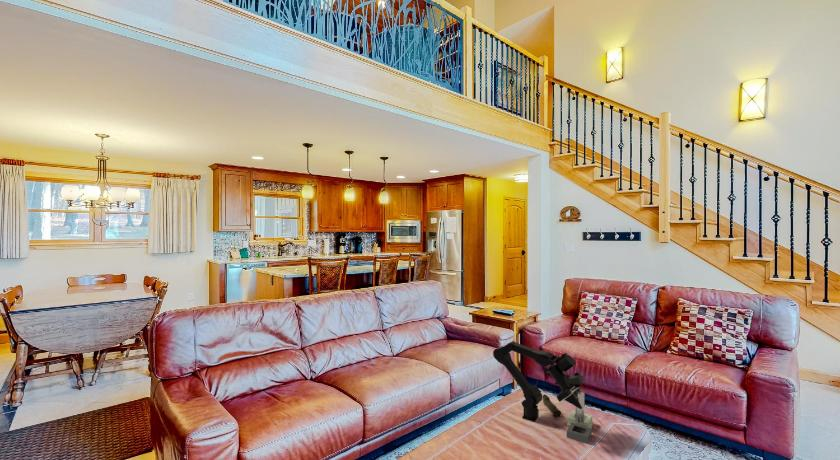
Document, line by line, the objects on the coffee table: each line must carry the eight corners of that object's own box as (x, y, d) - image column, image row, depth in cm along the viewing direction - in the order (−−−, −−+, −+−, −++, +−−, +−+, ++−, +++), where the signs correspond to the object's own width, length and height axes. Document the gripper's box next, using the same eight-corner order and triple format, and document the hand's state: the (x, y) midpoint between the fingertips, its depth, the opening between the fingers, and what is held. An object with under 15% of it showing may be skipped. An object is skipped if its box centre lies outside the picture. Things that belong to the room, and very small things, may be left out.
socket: (566, 437, 175) (566, 430, 175) (571, 429, 182) (571, 422, 182) (587, 444, 169) (587, 437, 169) (591, 435, 177) (591, 428, 177)
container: (566, 426, 185) (566, 417, 185) (571, 417, 193) (571, 409, 193) (589, 432, 179) (589, 424, 179) (593, 423, 187) (593, 415, 187)
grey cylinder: (574, 421, 176) (575, 393, 176) (576, 418, 179) (576, 390, 179) (583, 423, 174) (583, 395, 174) (584, 420, 177) (585, 392, 177)
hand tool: (561, 418, 193) (561, 409, 193) (553, 418, 193) (553, 409, 193) (548, 401, 212) (548, 393, 212) (541, 401, 212) (541, 393, 212)
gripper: (564, 373, 172) (589, 405, 165) (579, 362, 186) (603, 392, 178) (546, 385, 177) (570, 417, 170) (562, 374, 191) (585, 403, 184)
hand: (583, 407), depth 175 cm, fingers closed on grey cylinder, 4 cm apart
